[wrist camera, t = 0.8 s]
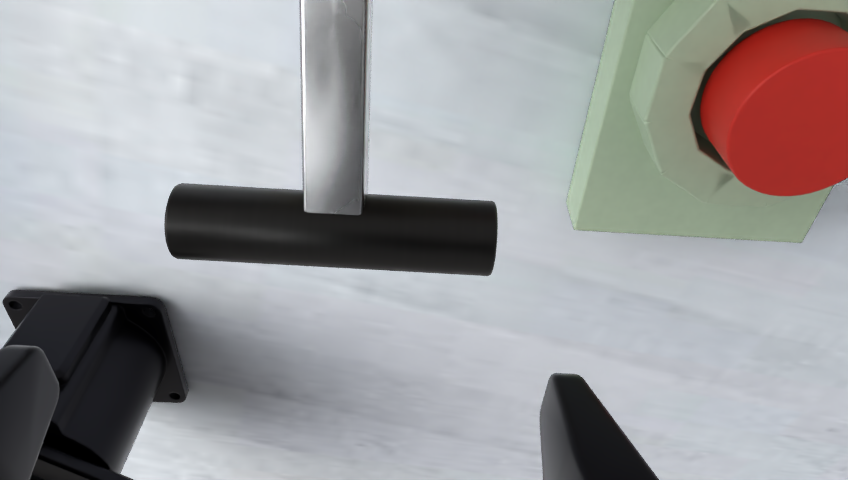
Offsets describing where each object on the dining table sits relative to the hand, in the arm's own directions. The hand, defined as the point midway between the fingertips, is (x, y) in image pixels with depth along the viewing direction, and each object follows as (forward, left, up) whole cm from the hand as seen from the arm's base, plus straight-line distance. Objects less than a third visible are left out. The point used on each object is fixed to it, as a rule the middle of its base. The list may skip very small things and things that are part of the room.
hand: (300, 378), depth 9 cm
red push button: (+1, -11, -10) cm, 15 cm away
